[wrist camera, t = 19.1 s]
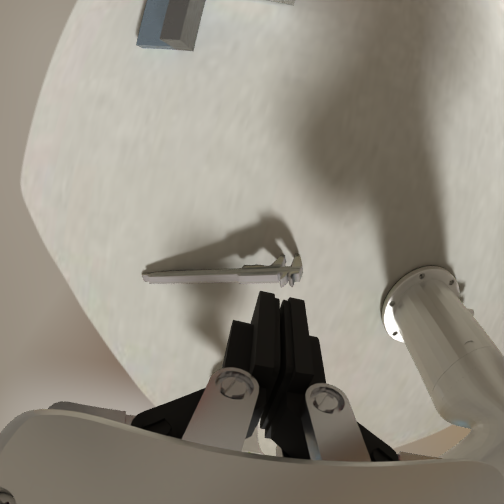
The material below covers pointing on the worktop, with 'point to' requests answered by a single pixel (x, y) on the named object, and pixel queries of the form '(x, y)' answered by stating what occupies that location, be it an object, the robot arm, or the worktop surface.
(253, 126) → the worktop surface
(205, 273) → the caliper
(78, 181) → the worktop surface
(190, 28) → the bracket
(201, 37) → the worktop surface
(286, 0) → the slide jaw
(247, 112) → the worktop surface
